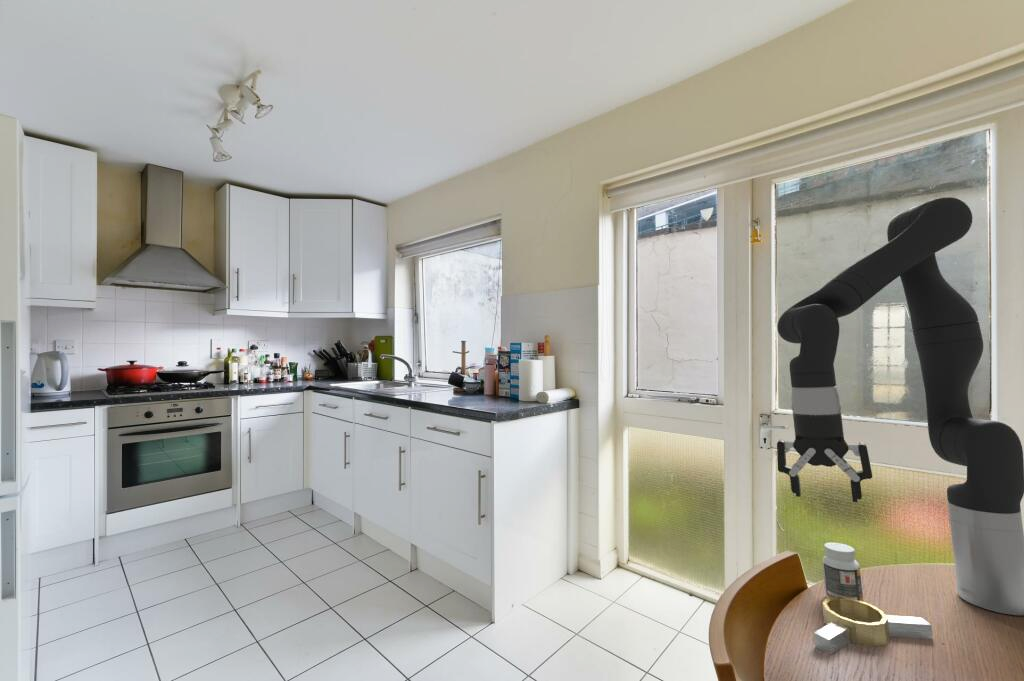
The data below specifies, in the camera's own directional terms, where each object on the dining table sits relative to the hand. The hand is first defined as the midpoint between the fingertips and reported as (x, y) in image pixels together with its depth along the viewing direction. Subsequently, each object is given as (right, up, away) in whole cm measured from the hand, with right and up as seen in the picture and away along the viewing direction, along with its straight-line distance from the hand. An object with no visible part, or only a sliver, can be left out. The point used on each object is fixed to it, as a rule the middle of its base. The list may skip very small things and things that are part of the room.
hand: (825, 498), depth 81 cm
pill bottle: (+4, -20, +1) cm, 20 cm away
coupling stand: (-1, -19, -8) cm, 21 cm away
